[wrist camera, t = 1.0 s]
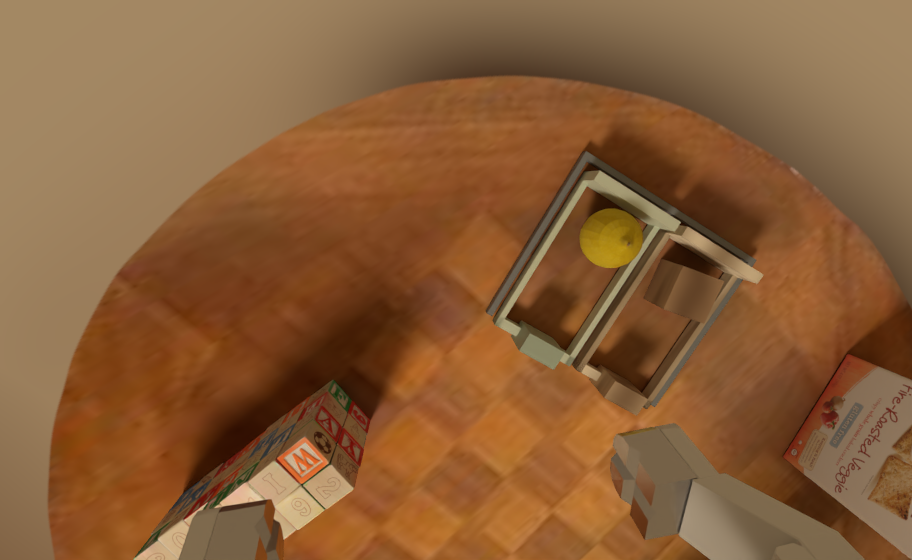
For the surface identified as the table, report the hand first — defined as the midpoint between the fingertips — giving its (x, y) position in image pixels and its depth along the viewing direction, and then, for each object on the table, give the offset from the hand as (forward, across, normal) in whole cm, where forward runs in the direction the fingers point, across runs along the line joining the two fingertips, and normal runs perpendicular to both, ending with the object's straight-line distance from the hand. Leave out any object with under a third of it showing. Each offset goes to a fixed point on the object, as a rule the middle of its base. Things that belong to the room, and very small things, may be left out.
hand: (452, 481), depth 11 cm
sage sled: (+34, +18, -13) cm, 40 cm away
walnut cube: (+32, +28, -16) cm, 46 cm away
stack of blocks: (+33, -15, -30) cm, 47 cm away
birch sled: (+31, +26, -19) cm, 45 cm away
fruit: (+35, +21, -10) cm, 42 cm away
